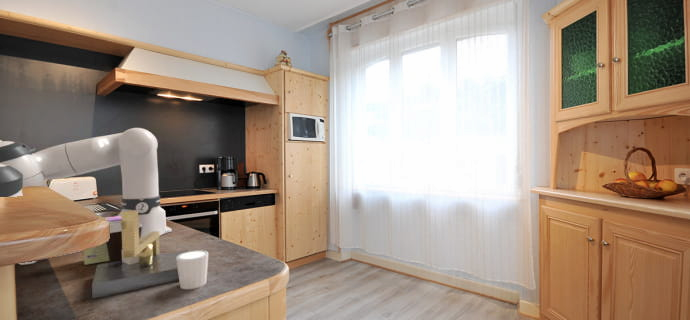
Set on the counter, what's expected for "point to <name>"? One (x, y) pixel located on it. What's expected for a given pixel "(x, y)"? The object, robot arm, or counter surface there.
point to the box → (99, 249)
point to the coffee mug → (117, 245)
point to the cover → (130, 259)
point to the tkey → (131, 242)
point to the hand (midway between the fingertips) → (121, 225)
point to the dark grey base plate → (134, 275)
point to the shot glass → (192, 269)
